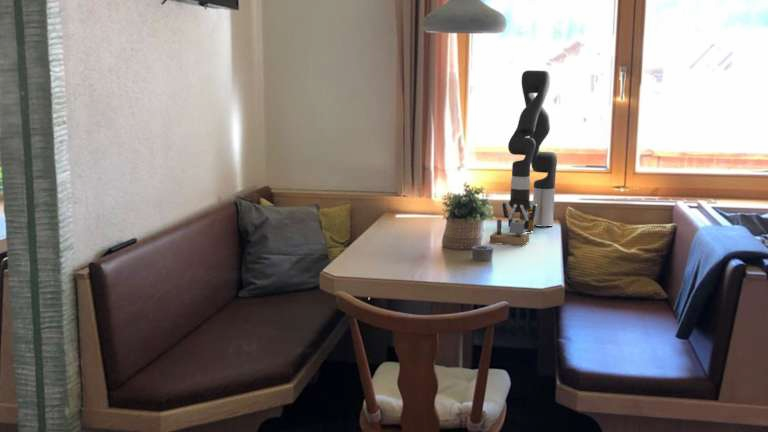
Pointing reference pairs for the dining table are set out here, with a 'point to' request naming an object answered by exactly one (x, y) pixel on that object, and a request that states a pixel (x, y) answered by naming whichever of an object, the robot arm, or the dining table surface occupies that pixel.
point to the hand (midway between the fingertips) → (518, 228)
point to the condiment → (531, 226)
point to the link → (517, 226)
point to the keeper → (508, 236)
